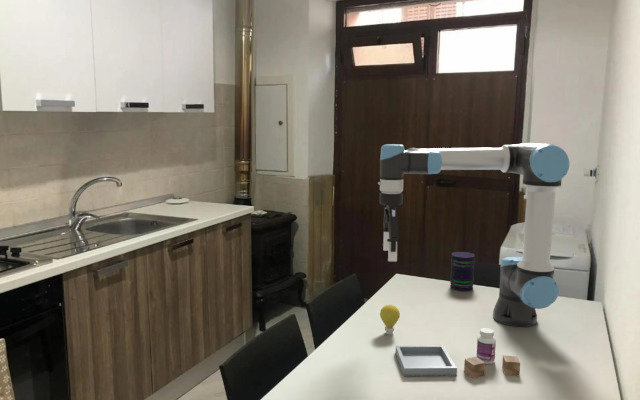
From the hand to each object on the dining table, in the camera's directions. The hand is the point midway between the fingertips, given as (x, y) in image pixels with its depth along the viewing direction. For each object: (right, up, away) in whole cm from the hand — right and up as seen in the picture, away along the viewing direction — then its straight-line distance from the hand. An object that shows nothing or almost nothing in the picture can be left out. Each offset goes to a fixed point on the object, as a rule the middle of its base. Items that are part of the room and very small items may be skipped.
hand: (389, 255), depth 172 cm
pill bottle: (+27, -31, -14) cm, 43 cm away
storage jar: (+39, -20, +54) cm, 69 cm away
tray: (+8, -31, -17) cm, 36 cm away
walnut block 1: (+21, -32, -22) cm, 44 cm away
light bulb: (+1, -27, +6) cm, 28 cm away
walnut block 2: (+32, -31, -21) cm, 50 cm away
